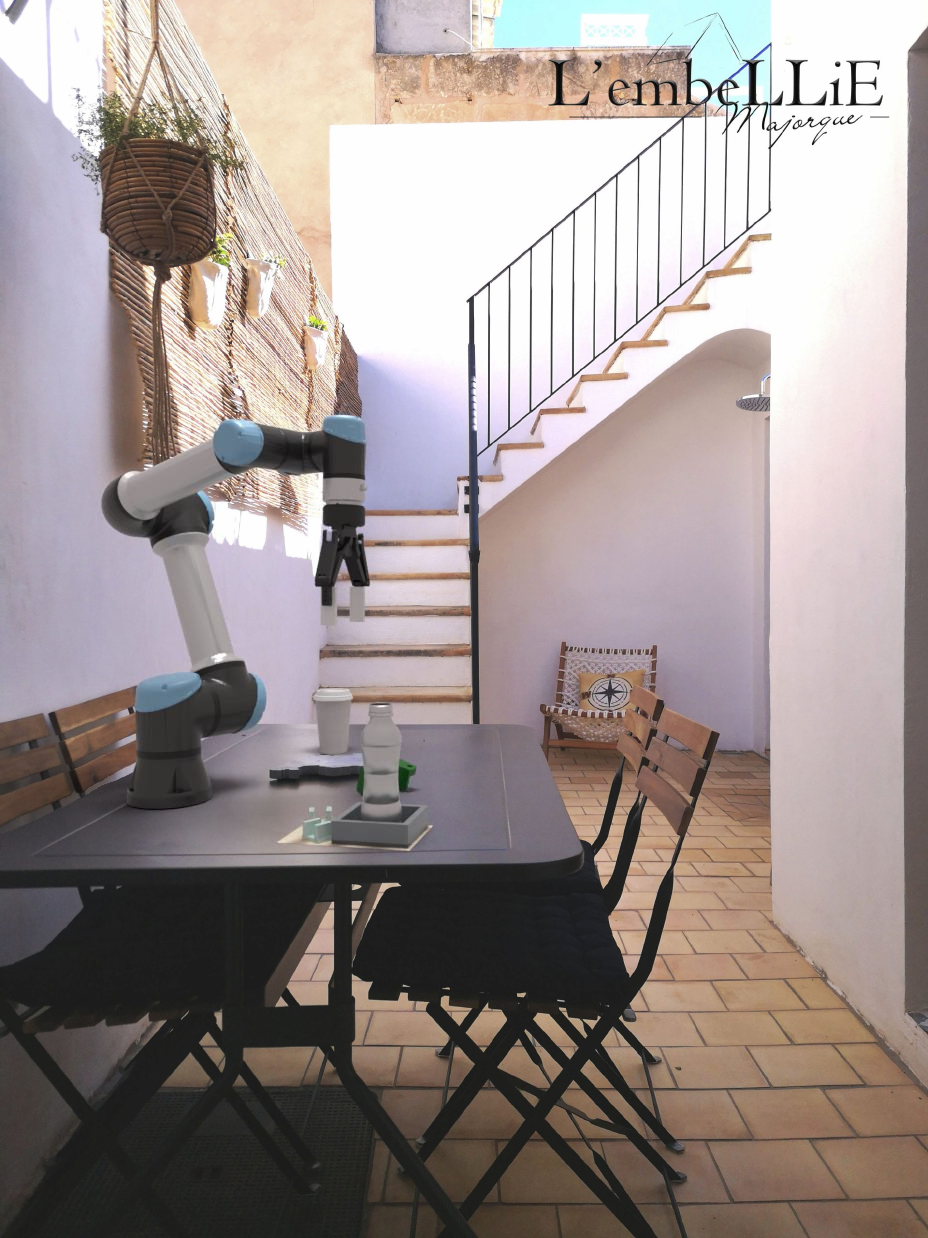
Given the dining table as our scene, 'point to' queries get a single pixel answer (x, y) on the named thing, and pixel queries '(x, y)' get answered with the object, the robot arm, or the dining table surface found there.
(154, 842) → the dining table surface
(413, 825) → the holder
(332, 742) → the coffee cup
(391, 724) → the plastic bottle
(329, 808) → the clip
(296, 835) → the board
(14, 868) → the dining table surface
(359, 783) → the clamp
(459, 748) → the dining table surface
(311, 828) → the clip
